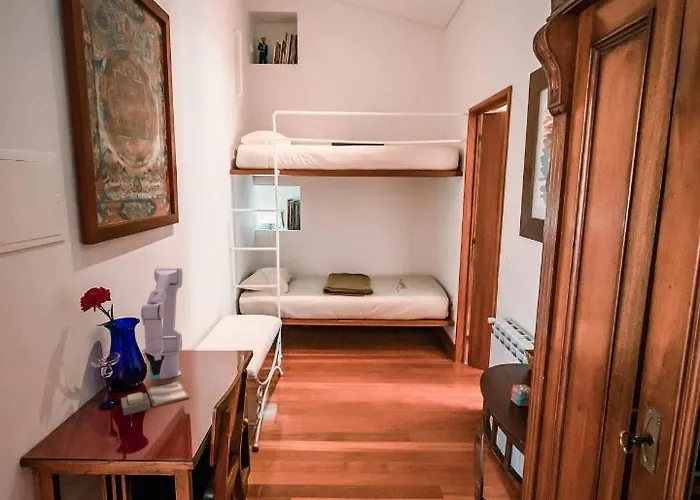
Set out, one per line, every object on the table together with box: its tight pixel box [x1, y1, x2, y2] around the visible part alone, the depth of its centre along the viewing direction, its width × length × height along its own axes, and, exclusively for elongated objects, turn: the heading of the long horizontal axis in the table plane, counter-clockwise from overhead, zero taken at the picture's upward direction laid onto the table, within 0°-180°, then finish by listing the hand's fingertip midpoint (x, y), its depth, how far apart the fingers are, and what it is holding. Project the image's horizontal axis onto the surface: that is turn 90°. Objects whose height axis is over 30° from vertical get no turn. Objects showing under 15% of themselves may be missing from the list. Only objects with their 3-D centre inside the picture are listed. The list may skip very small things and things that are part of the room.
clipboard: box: [145, 380, 190, 408], centre depth 155 cm, size 16×12×1 cm
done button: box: [126, 391, 143, 405], centre depth 145 cm, size 4×4×3 cm
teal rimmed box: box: [147, 360, 161, 382], centre depth 153 cm, size 3×3×7 cm
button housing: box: [120, 392, 151, 416], centre depth 145 cm, size 8×8×3 cm
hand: (155, 372), depth 153 cm, fingers closed on teal rimmed box, 3 cm apart
